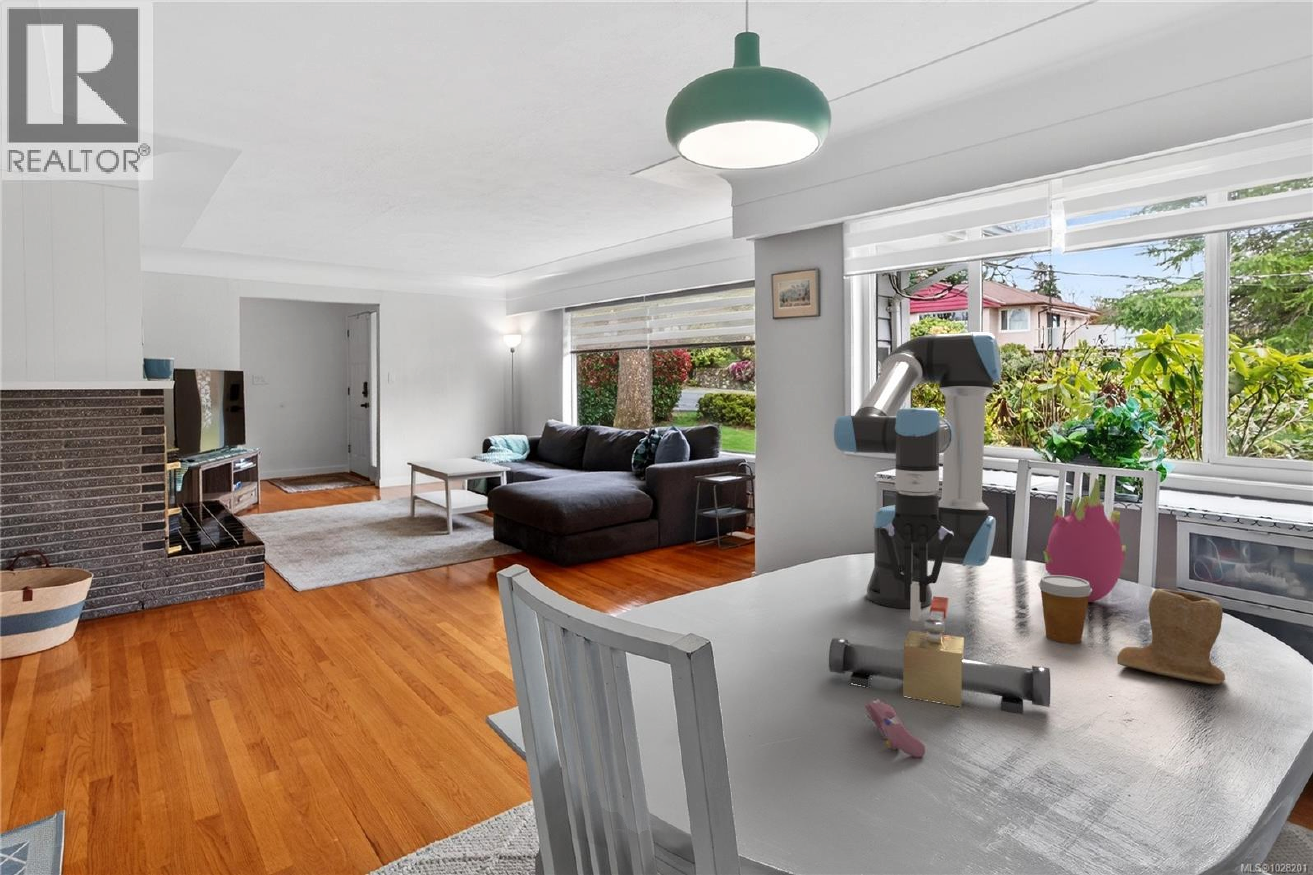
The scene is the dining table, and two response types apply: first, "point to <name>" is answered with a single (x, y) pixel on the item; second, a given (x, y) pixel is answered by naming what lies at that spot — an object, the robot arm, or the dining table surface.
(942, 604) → the lever
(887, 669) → the valve pipe
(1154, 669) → the tan flared piece
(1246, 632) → the dining table surface
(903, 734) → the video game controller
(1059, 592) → the disposable coffee cup
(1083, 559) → the pink dragon fruit
